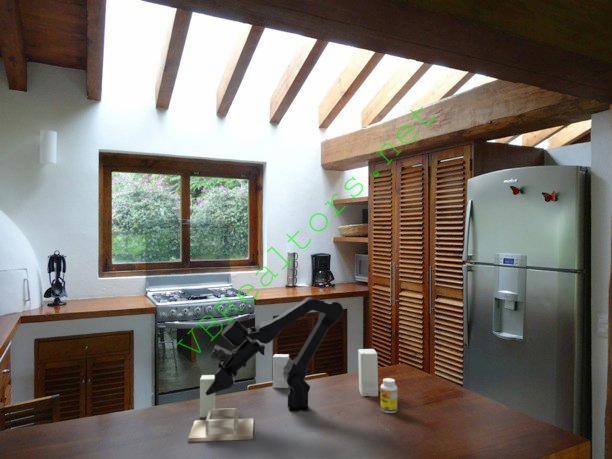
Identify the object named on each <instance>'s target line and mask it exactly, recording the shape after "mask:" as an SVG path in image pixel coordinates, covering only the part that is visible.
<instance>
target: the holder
mask: <svg viewBox="0 0 612 459" xmlns="http://www.w3.org/2000/svg"><path fill="white" fill-rule="evenodd" d="M205 418H206V419H202V420H200V419H197V420H194V421H193V425H192V427H191V429H190V433H189V435H188V438H187V442H188V443H192V442H215V441H216V442H217V441H241V440H246V441H247V440H253V438H254V418H250V417H249V418H239V407H229V408H228V407H227V408H222V407H221V408H215V409H209V412H208V415H207V417H205Z"/></svg>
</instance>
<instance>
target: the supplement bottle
mask: <svg viewBox="0 0 612 459" xmlns="http://www.w3.org/2000/svg"><path fill="white" fill-rule="evenodd" d="M380 410H381V412H383V413H386V414H394V413H397V411H398V386H397V384H396V380H395V379H394V378H391V377H385V378H383V379H382V384H381V385H380Z"/></svg>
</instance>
